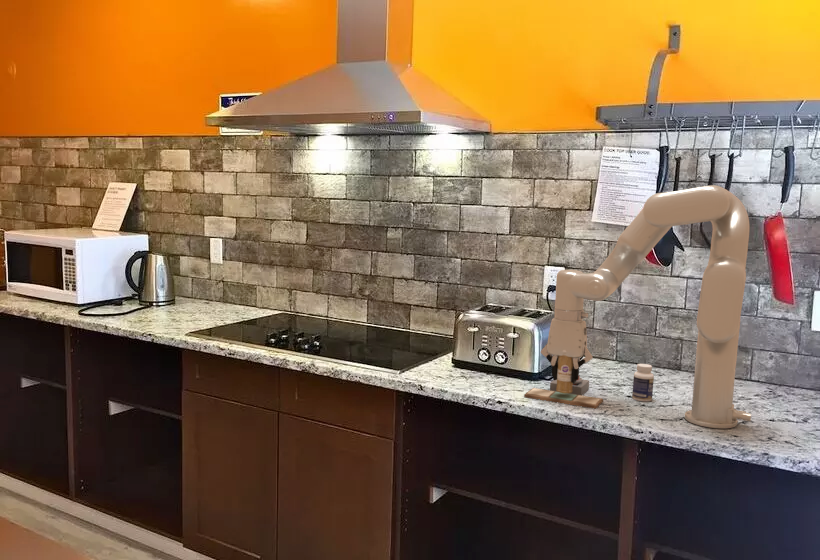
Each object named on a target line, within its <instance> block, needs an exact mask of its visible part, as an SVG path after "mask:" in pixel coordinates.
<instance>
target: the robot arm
mask: <svg viewBox="0 0 820 560" xmlns="http://www.w3.org/2000/svg"><path fill="white" fill-rule="evenodd" d="M706 222H710V223H711V226H712V233H711V241H710V252H709V257H708V262H707V266H706V267H705V269H704V272H703V274H702V280H701V284H700V285H701V286H700V294H699V302H698V307H697V308H698V309H697V316H696V328H697V330H698V331H697V340H696V341H697V343H696V353H695V363H694V365H695V366H694V378H693V390H692V399H691V400H692V402H691V409H690V410H687V411H685V413H684V419H685V420H686V421H687V422H689V423H690V424H691V423H692V424H693V425H696V426H701V427H705V428H710V429H711V428H712V429H732V428H734V427H736V426H738V421H739V420H740V421H741V420H742V421H744V422H745V421H746V422H751V418H752V414H751V413H749V412H747V411H744V410H737V409H736V408H735V404H734V403H733V401H734V388H735V379H736V368H737V360H738V359H737V358H738V347H739V337H740V330H741V329H740V327H741V326H740V325H741V315H742V307H743V303H744V302H743V300H744V294H745V287H746V281H747V274H746V273H747V271H746V268H747V266H746V265H747V257H748V249H749V239H750V218H749V215H748V212H747V209H746V207H745V205H744V204H743V201H741V200H740V198H738V197H737V196H736V195H735V194H733V193H732V192H731V191H729V190H728V189H726V188H725V187H722V186H719V185H714V184H711V185H705V186H698V187H692V188H686V189H681V190H675V191H666V192H657V193H654V194H652V195H650V196H649V197H648V198H647V199H646V201H645V203H644V204H643V208H642V209H641V210H640V211H639V213H638V214H637V215H636V216H635V218H634V219H633V220H632V221H630V224H628V225H627V227H626V228H625V229H624V230H623V231H622V233H621V234H620V235H619V237H618V239H617V241H616V244H615V247H614V248H613V249H612V251H611V253H609V255H608V256H607V257H606V259H605V260H604V261H603V262H602V263H601V265H600V266H599V267H598V268H597V269H596V270H595V271H593V272H590V273H586V272H585V273H584V272H583V271H582V270H576V269H561V270H559V271H558V272H557V274H556V280H555V298H554V299H555V301H554V317H553V318H552V319H551V322H550V325H549V331H548V336H547V337H548V339H547V343H545V345H544V347H543V348H542V349H541V350H540V354H541V355H543V357H545V358H546V359H547V361H548V362H549V363H550V366H552V367H551V377H552V381H553V380H557V371H558V356H562V355H564V356H565V355H566V356H568V357H571V358H573V364H574V366H573V369H572V377H571V382H572V383H575V382H576V381H577V380H578V378H579V377H580V367H582V366H583V365H584V364H587V363H588V362H589V361H591V360H593V355H592V353H591V352H590V351H589V349H588V335H587V333H588V332H587V323H586V321H585V320H583V319H588V317H589V312H585V310H584V301H585V300H587V301H588V300H589V301H594V302H600V301H604V300H605V299H607V298H609V296H611V295H612V294H613V293H614V292H616V291H617V289H618V288H619V287H620V286H621V285H622V284H623V282H624V281H625V280H626V279H627V278H628V277H629V275H630V274H631V273H632V272H633V271H634V270H635V268H636V267H637V266H638V265H639V264H640V263H641V262H643V261H644V259H645V258H646V257H647V256H648V255H649V253H650V252H651V251H652V250H653V249H654V248H655V246H657V244H658V243H659V242H660V241H661V240H662V238H663V237H664V236H665V235H666V234H667V233H668V231H670V229H671V228H672V227H677V226H684V225H691V224H698V223H706ZM563 350H566V352H562V351H563ZM565 353H566V354H565ZM582 357H584V358H582ZM581 358H582V359H581Z"/></svg>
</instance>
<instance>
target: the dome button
mask: <svg viewBox="0 0 820 560" xmlns="http://www.w3.org/2000/svg"><path fill="white" fill-rule="evenodd" d="M582 379H583V378H582V377H580V376H579V378H578V380H577V381H576V382H575V383H573V385H577V384H578V383H581V382H582Z"/></svg>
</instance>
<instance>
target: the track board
mask: <svg viewBox="0 0 820 560" xmlns="http://www.w3.org/2000/svg"><path fill="white" fill-rule="evenodd" d="M523 396H524V397H523V398H527V399H531V400H538V399H540V400H539V401H544V400H546V401H545V402H550V401H552V402H551V403H556V402H558V403H557V404H562V403H564V405H569V404H570V406H575V405H576V407H581V406H582V407H583V408H587V409H593V408H594V410H597V409H598V408H599V407H600V405H601V404H602V403H603V402H604V399H603V398H601V397H594V396H588V395H576V394H570V393H560V392H557V391H550V389H542V388H537V387H532V388H530V390H528V391H527V392H526V393H524V394H523ZM596 408H597V409H596Z"/></svg>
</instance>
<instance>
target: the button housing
mask: <svg viewBox="0 0 820 560" xmlns="http://www.w3.org/2000/svg"><path fill="white" fill-rule="evenodd" d="M556 388H557V380H553V379H552V381H551V382H549V390H550V391H556ZM589 389H590V380H589V379H583V378H582V382H581V383H578V384H577V385H572V390H573V391H572V392H571V393H570V394H576V395H582V396H584V394H585V393H587V392H588V390H589Z"/></svg>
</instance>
